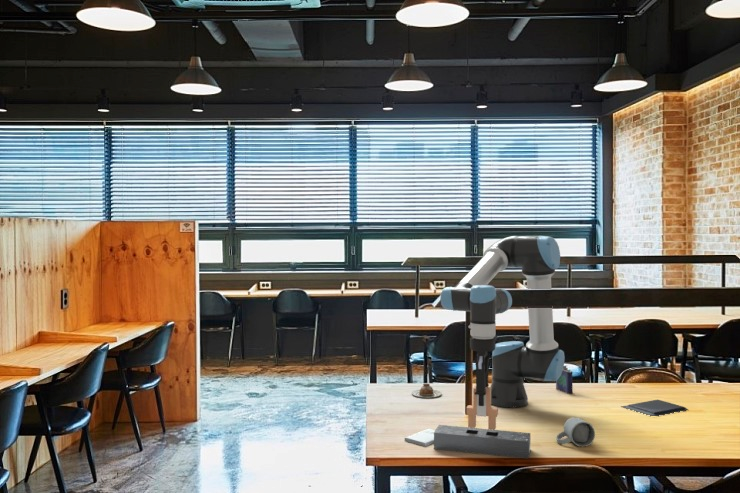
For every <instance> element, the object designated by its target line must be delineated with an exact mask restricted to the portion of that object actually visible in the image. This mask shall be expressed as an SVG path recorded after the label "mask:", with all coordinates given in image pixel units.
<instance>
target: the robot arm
mask: <svg viewBox="0 0 740 493" xmlns="http://www.w3.org/2000/svg"><path fill="white" fill-rule="evenodd" d="M556 240H557V239H555V238H554V237H553V236H547V235H511V236H507V237H504V238H501V239H499V240H498V241H496V242H494V243H493V244H491V245H490V246H489V247H488V248H486V250H485V251H483V255H482V258H481V259H480V260H479V261H478V262H477V263H476V264H475V265H474V266H473V267H472V269H470V271H469V272H468V273H466V275H465V276H464V277H463V278H462V279H461V280H460V281H459V282H458V283H457V284H456V285H455V286H446V287H444V288H443V289H442V290H441V292H440V298H439V299H440V304H441V307H442V308H443V309H444V310H449V311H453V312H454V311H456V312H457V311H458V312H469V314H470V315H469V316H470V318H469V319H470V320H469V321H470V322H469V323H470V324H469V325H468V329H470V330H469V331H470V336H471V337H470V338H469V348H470V350H471V351H474V352H475V351H476V352H477V354H476V356H475V358H474V362H475V363H474V364H475V386H476V392H475V393H474V394H475V395H477V415H476V417H484V418H485V417H486V418H487V416H486V387H491V406H492V405H493V406H494V407H495V406H496V407H501V408H521V407H525V406H527V405H528V402H529V401H528V400H529V399H528V397H529V396H528V393H527V392H526V387H525V384H524V379H532V380H538V381H544V382H556V380H558V379H559V378H560V376H561V373H562V371H563V367H564V366H565V360H566V359H565V351H564V350H562V349H559V343H558V342H557V341H556V340H555V339H554V336H555V335H554V334H555V333H554V316H553V313H554V310H553V307H552V308H528V307H527V309H528V328H529V340H528V341H527V342H526V344H524V341H519V340H517V341H516V340H512V341H503V342H497V343H496V337H495V336H496V327H497V326H496V324H497V323H496V316H497V314H498V315H499V314H503V313H505V312H507V311H508V310H510V308H511V306H512V305H513V298H512V295H511V293H510V292H509V291H508V290H506V289H503V288H496V287H495V286H493V285H489V283H490V282H491V281H492V280H493V279H494V278H495V276H497V274H498V273H500V272H502V271H505V269H506V268H507V269H508V268H520V269H521V275H522V276H524V277H525V278H526V289H527V288H531V289H551V290H552V277H553V276H554V274H556V270H557V269H558V268H560V264H561V261H560V260H561V251H560V246H559V245H558V242H557V241H556ZM488 352H489V353H490V352H491V353H492V355H491V356H490V355H489V354H488ZM491 359H492V360H491ZM490 360H491V367H492V368H491V372H492V373H491V374H492V375H491V376H492V380H491V384H490V386H489V369H490Z"/></svg>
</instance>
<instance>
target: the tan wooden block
mask: <svg viewBox="0 0 740 493" xmlns="http://www.w3.org/2000/svg"><path fill="white" fill-rule="evenodd" d="M472 390H473V391H472V394H473V396H472V399H473V400H472V401H473V403H472V405H471V404H470V405H467V406H466V415H467V418H468V420H467V424H468V426H467V427H469V428H477V427H476V426H477V395H475V394H474V393H475V392H476V385H475V386H473V388H472ZM498 415H499V410H498V407H497V406H496V407H495V406H492V404H491V386H488V387H486V417H488V419H487V420H488V421H487V422H488V426H487V427H488V428H487V429H490V430H497V417H498Z"/></svg>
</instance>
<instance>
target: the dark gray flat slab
mask: <svg viewBox="0 0 740 493" xmlns="http://www.w3.org/2000/svg"><path fill="white" fill-rule="evenodd" d="M620 408H623V409H626V410H628V409H630V410H629V411H632V410H634V411H633V412H635V411H636V412H635V413H638V412H640V413H639V414H641V413H643V414H642V415H644V414H646V415H645V416H647V415H650V416H649V417H651V416H658V417H660V416H659V415H663V416H666V415H665V414H668V415H671V414H670V413H672V414H675V413H674V412H678V413H681V412H680V411H683V412H687V411H686V410H688V411H689V409H688V408H687V407H685V406H683V405H679V404H675V403H671V402H668V401H665V400H661V399H654V400H652V399H651V400H647V401H641V402H637V403H631V404H626V405H622V406H620Z"/></svg>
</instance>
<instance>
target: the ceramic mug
mask: <svg viewBox="0 0 740 493" xmlns="http://www.w3.org/2000/svg"><path fill="white" fill-rule="evenodd" d="M564 437H565V438H564ZM595 437H596V431H595V428H594V427H593V425H592V424H591V423H590V422H589V421H586V420H584V419H582V418H581V417H580V418H579V417H569V418H568V419H566V421H565V422H564V424H563V431H562V432H559V433H558V434H557V435H556V436H555V438H556V442H557V443H558V444H559V445H565V444H569V443H571V442H572V444H574V445H575V446H577V447H580V446H586V447H588V446H591V444H592V443H593V442H594V440H595Z"/></svg>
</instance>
